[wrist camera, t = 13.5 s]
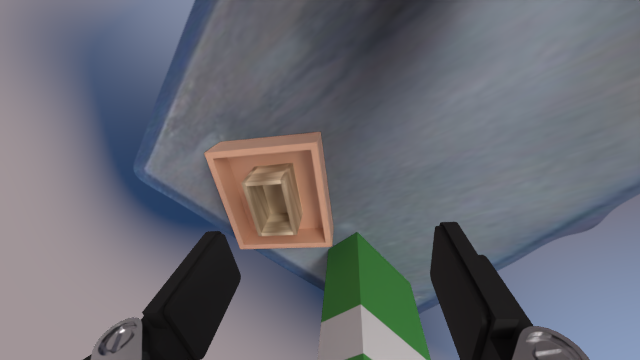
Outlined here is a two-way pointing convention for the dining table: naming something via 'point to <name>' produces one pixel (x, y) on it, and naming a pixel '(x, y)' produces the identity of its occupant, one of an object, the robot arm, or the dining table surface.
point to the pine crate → (274, 199)
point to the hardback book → (368, 308)
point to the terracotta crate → (309, 165)
